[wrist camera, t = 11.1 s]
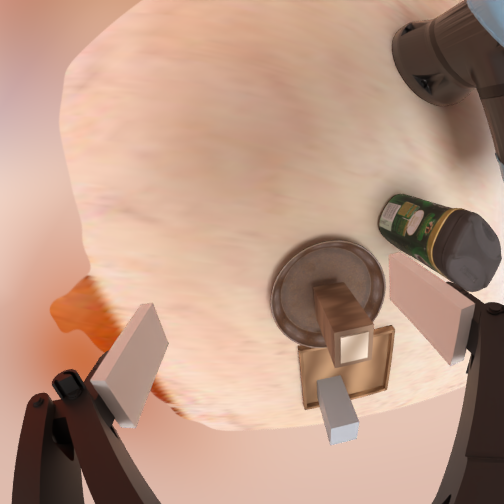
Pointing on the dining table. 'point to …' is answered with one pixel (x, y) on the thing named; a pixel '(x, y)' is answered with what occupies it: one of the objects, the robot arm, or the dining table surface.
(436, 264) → the coffee jar
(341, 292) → the labelled carton
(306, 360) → the parts tray
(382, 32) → the dining table surface
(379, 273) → the plant saucer
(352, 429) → the plain carton
